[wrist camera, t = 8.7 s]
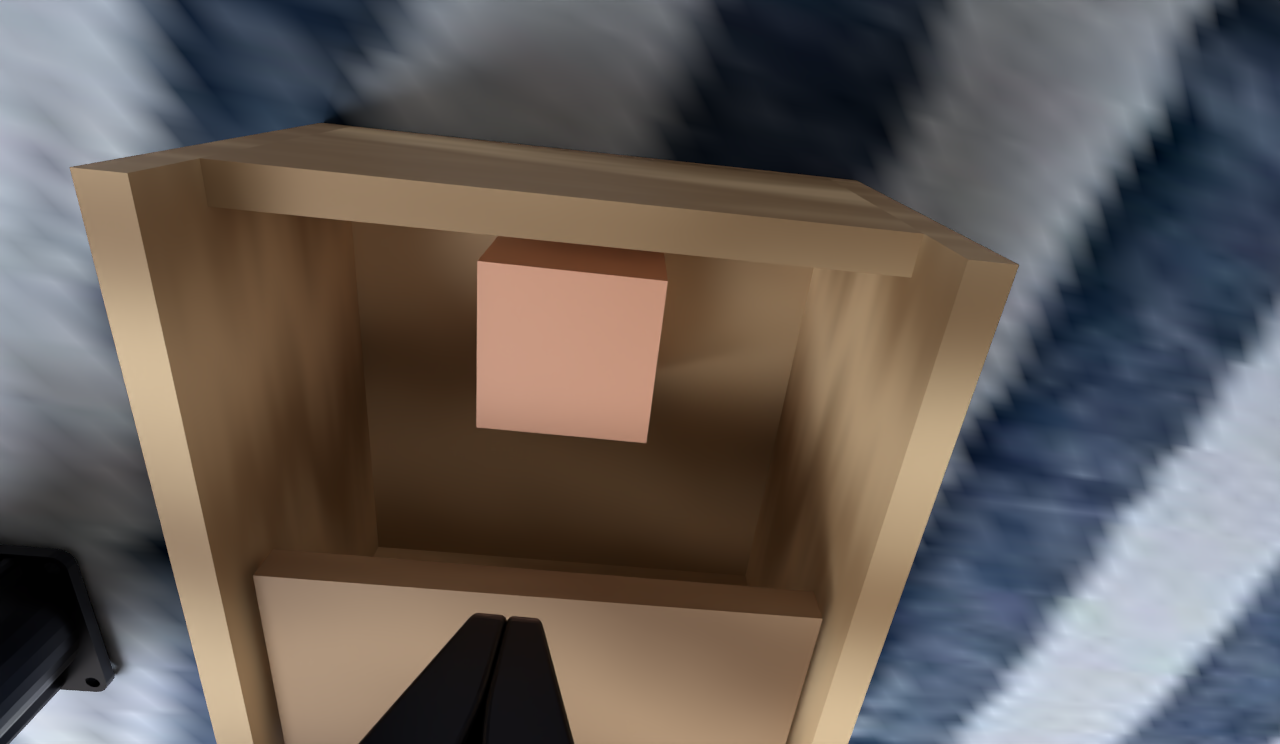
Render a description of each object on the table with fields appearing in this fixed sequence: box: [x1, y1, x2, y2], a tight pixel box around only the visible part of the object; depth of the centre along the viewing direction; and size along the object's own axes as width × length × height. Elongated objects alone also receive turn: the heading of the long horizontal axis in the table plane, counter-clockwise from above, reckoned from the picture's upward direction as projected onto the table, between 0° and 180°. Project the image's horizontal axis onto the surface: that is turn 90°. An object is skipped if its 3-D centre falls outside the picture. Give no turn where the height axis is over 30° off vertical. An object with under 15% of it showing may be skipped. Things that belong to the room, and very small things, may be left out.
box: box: [70, 123, 1019, 744], centre depth 16 cm, size 14×14×8 cm
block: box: [476, 236, 668, 443], centre depth 16 cm, size 4×4×4 cm
